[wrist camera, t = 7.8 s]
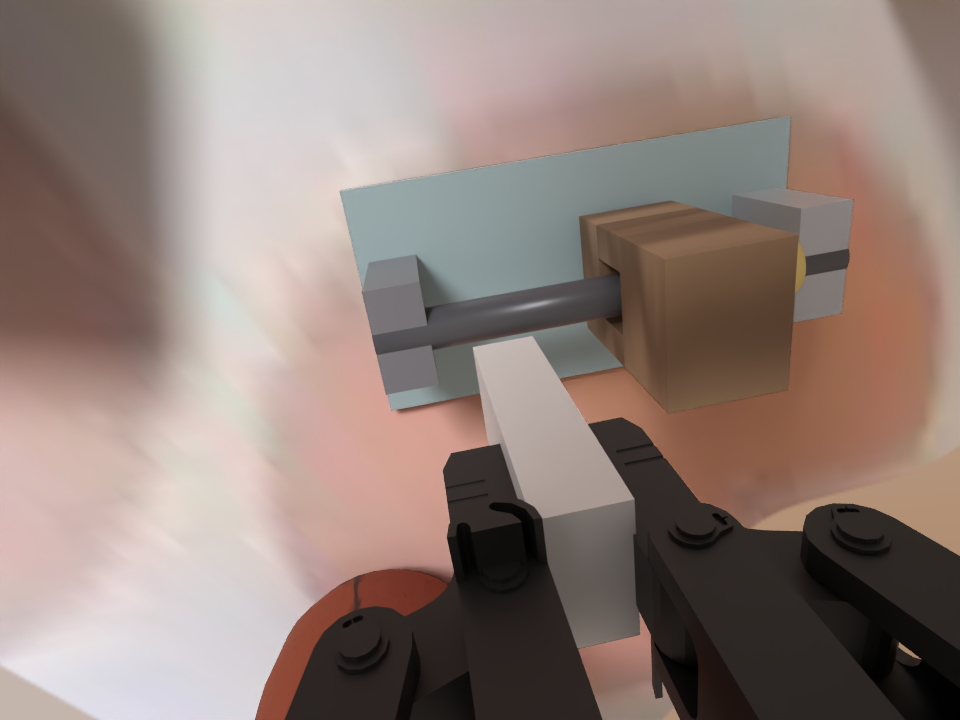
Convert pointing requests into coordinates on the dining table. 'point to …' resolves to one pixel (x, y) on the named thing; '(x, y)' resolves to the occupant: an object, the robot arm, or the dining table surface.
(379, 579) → the potted plant
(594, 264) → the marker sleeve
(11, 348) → the dining table surface
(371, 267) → the sliding rail mechanism
